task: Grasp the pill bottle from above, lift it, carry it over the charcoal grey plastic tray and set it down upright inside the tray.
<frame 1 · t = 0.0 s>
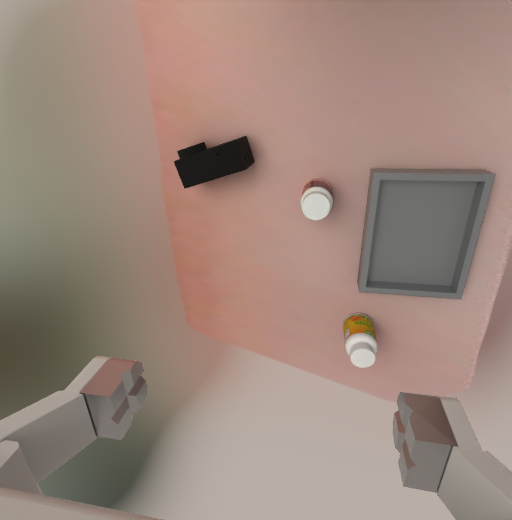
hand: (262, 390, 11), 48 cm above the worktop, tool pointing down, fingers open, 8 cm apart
pill bottle: (317, 192, 56), on the worktop
digital camera: (221, 154, 56), on the worktop
supplement bottle: (357, 323, 65), on the worktop
tray: (414, 231, 55), on the worktop
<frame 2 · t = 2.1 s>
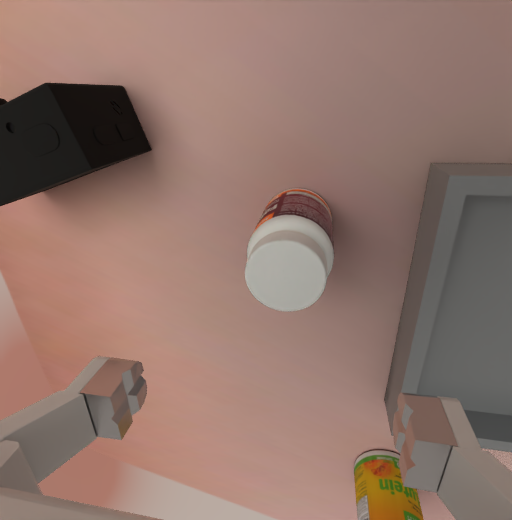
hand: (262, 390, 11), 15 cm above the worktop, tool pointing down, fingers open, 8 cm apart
pill bottle: (297, 219, 24), on the worktop
digital camera: (77, 134, 24), on the worktop
supplement bottle: (381, 464, 33), on the worktop
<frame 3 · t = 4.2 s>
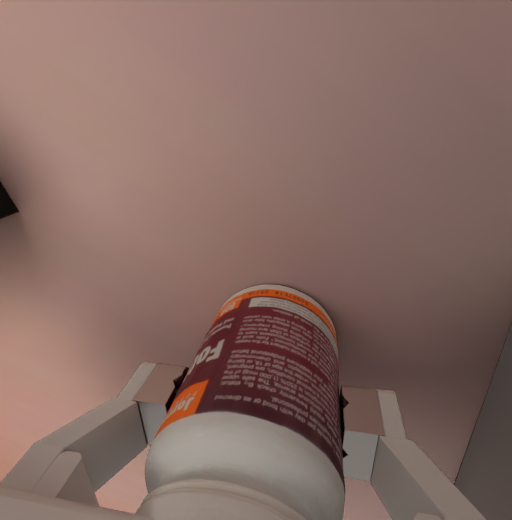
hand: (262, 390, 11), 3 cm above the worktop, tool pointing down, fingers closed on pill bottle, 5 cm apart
pill bottle: (275, 331, 13), on the worktop, touching gripper
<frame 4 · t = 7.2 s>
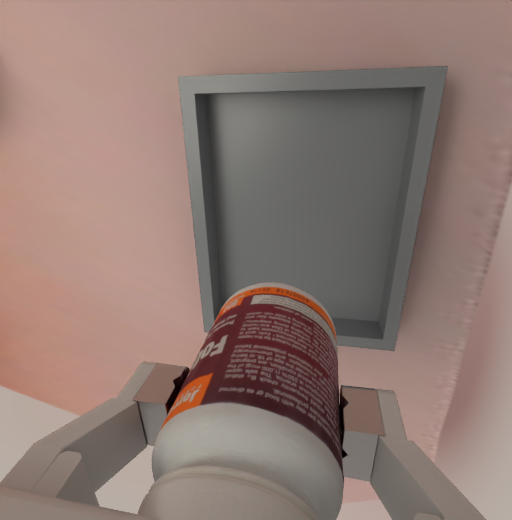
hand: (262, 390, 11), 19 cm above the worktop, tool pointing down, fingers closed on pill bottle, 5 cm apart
pill bottle: (276, 328, 14), point 16 cm above the worktop, touching gripper
tray: (301, 215, 28), on the worktop
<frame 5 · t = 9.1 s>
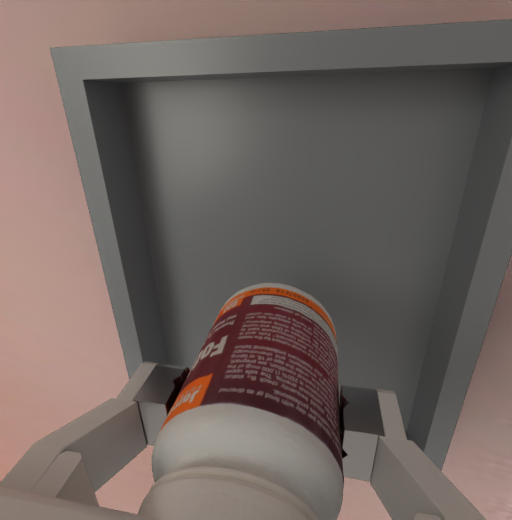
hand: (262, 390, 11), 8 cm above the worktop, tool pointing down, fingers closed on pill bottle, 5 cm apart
pill bottle: (276, 328, 14), point 4 cm above the worktop, touching gripper
tray: (288, 274, 18), on the worktop
when the fingers open (6 cm above the worktop, at t = 10.4 s): pill bottle drops 1 cm, resting on tray.
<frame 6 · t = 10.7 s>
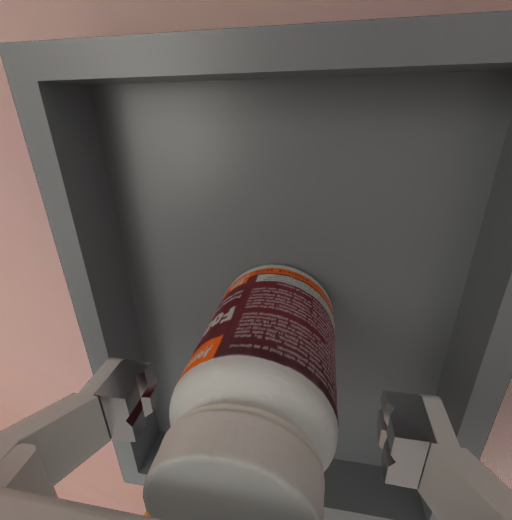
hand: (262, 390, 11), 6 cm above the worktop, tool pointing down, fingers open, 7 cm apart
pill bottle: (278, 308, 15), point 1 cm above the worktop, touching tray
tray: (282, 299, 16), on the worktop
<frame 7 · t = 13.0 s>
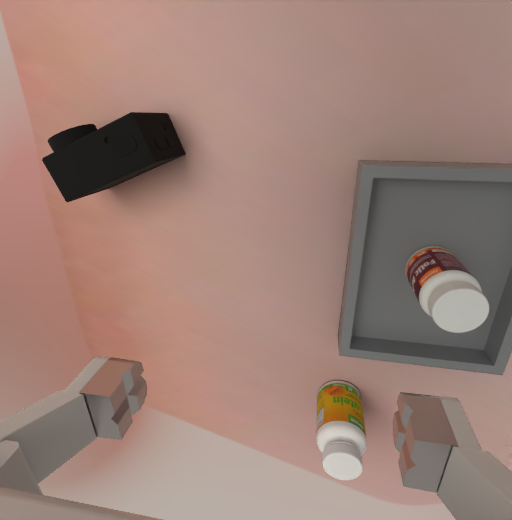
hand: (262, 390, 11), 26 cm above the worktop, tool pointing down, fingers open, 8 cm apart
pill bottle: (429, 266, 34), point 1 cm above the worktop, touching tray
digital camera: (135, 146, 36), on the worktop
supplement bottle: (338, 394, 43), on the worktop
tray: (427, 263, 35), on the worktop
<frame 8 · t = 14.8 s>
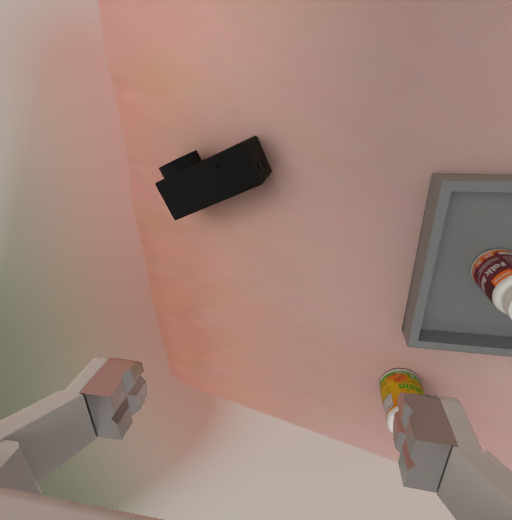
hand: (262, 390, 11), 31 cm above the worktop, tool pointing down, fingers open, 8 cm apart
pill bottle: (492, 266, 38), point 1 cm above the worktop, touching tray
digital camera: (223, 165, 40), on the worktop
supplement bottle: (398, 381, 48), on the worktop
tray: (490, 263, 39), on the worktop
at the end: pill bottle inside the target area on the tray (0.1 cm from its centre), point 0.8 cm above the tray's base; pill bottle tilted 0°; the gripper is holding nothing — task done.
